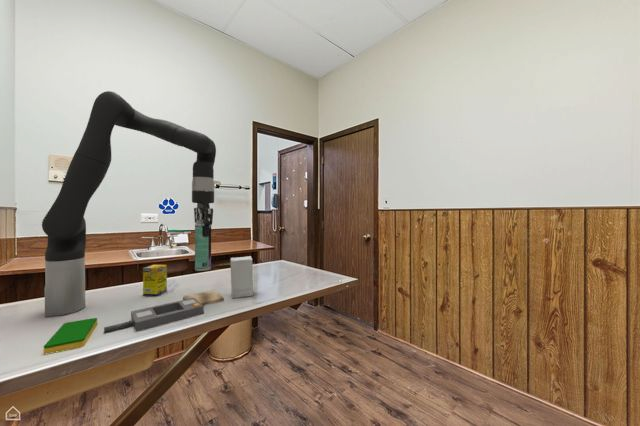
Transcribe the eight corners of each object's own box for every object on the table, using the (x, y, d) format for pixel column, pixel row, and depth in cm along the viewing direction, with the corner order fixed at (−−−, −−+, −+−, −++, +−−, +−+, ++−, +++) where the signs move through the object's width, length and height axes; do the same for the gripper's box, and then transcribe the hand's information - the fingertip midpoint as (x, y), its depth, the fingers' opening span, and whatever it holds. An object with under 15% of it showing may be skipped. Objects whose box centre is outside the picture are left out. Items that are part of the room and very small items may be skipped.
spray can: (214, 268, 96) (214, 215, 95) (203, 271, 91) (203, 215, 90) (202, 266, 97) (203, 215, 97) (191, 270, 92) (191, 215, 92)
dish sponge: (97, 325, 75) (97, 317, 74) (83, 348, 63) (83, 338, 63) (64, 331, 71) (64, 322, 71) (43, 356, 59) (42, 346, 59)
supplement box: (157, 296, 97) (157, 268, 97) (142, 295, 98) (142, 267, 97) (167, 291, 103) (167, 264, 103) (153, 290, 103) (152, 264, 103)
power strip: (105, 339, 66) (105, 328, 66) (103, 326, 73) (103, 316, 73) (203, 313, 82) (203, 304, 82) (194, 304, 90) (194, 296, 90)
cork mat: (192, 308, 87) (192, 305, 86) (183, 299, 95) (183, 296, 95) (223, 300, 94) (223, 297, 94) (213, 292, 102) (213, 290, 102)
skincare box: (251, 291, 104) (252, 255, 104) (253, 296, 98) (253, 258, 98) (230, 293, 101) (230, 256, 101) (230, 299, 96) (230, 260, 95)
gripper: (186, 190, 96) (186, 234, 96) (198, 188, 85) (198, 238, 86) (206, 191, 101) (206, 233, 101) (220, 190, 90) (220, 237, 91)
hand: (203, 235), depth 94 cm, fingers closed on spray can, 5 cm apart
